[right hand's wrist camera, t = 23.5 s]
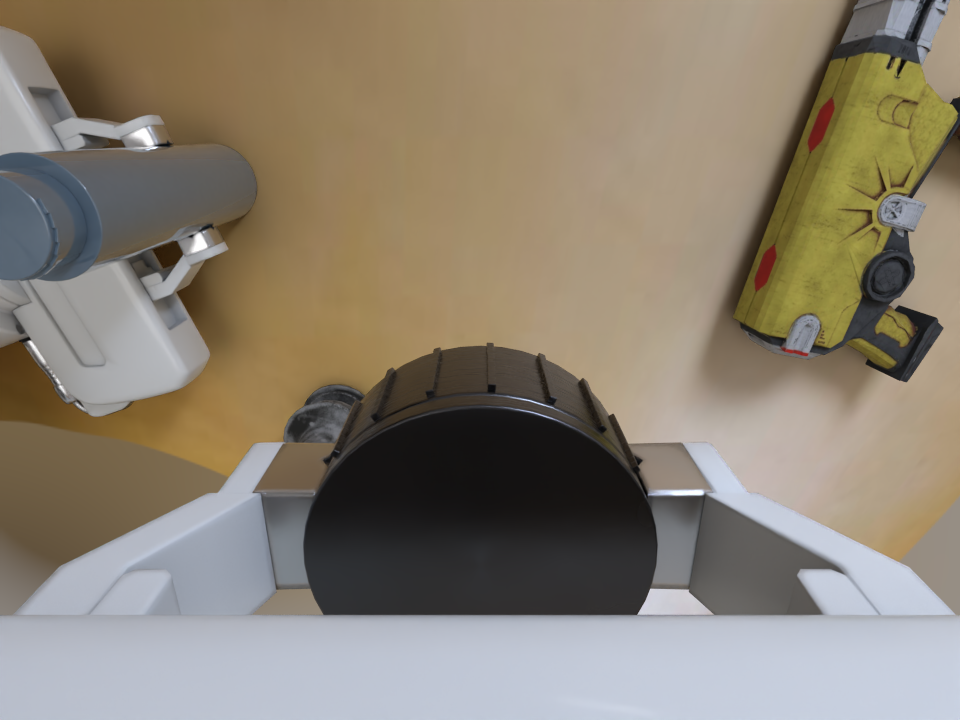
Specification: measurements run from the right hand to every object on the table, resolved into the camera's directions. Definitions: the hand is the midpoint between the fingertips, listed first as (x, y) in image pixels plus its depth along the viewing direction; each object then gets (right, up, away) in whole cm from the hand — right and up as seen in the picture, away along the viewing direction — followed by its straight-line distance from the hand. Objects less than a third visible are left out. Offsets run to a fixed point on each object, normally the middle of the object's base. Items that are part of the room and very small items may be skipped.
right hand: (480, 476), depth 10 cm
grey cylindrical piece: (-16, +13, +26) cm, 34 cm away
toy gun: (+26, +14, +26) cm, 39 cm away
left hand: (-16, +11, +21) cm, 28 cm away
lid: (0, -1, -2) cm, 2 cm away
